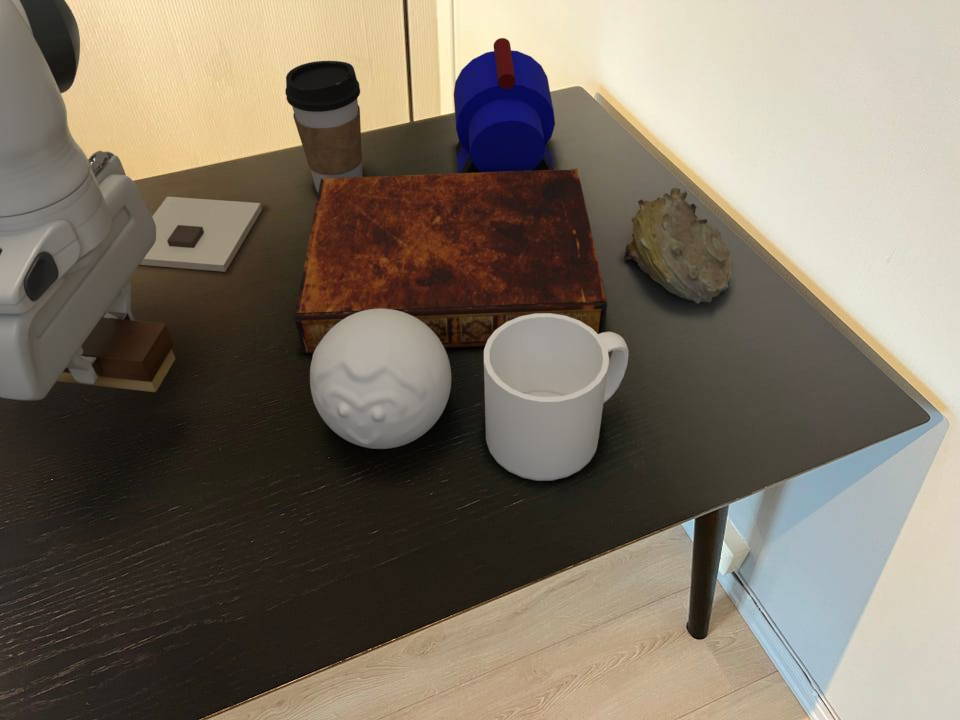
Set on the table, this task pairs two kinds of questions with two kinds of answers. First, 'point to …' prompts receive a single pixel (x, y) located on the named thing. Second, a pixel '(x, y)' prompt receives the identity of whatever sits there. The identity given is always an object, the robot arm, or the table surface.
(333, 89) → the coffee cup
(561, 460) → the mug
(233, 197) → the table surface
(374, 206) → the book
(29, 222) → the robot arm
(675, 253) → the seashell
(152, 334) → the brown rectangular block
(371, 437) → the decorative ball
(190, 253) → the tile
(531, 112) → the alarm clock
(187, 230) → the dark brown square block
